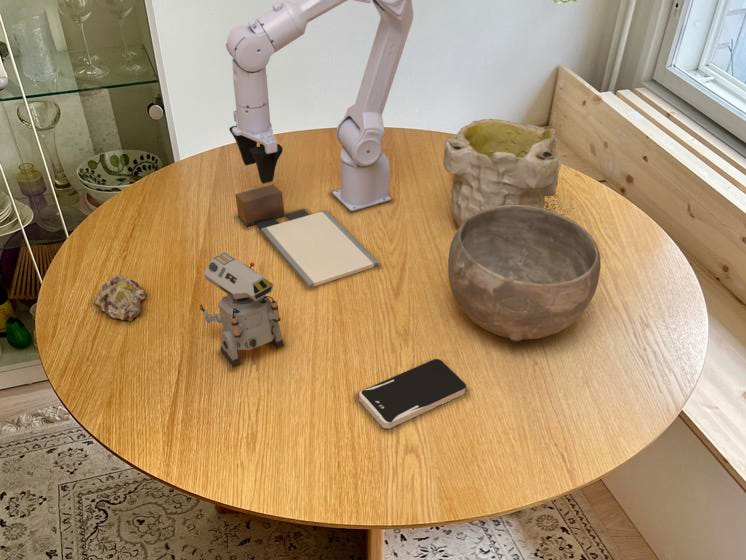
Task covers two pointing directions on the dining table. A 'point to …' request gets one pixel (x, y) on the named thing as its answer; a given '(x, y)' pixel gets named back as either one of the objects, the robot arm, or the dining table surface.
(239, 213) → the brown rectangular block
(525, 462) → the dining table surface
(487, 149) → the ceramic vessel
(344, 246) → the whiteboard
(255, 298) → the figurine
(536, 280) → the bowl
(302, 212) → the charcoal rectangular plate
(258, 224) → the dark grey tile
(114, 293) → the mineral rock
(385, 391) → the smartphone
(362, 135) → the robot arm
